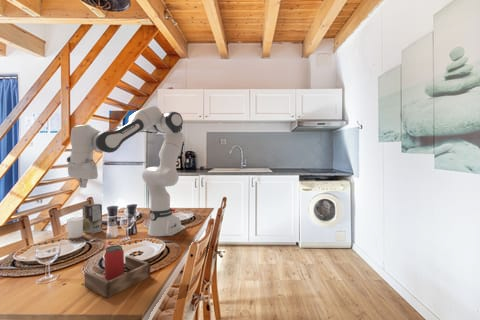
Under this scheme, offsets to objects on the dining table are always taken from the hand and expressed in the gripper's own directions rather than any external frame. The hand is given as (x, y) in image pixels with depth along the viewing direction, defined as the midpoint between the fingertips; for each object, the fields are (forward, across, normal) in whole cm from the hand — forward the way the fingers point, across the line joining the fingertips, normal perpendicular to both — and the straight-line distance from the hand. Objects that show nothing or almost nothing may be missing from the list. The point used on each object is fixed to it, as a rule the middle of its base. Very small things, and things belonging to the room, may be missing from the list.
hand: (83, 187), depth 123 cm
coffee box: (+31, +26, -18) cm, 44 cm away
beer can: (+31, -38, +8) cm, 49 cm away
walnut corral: (+31, -40, +8) cm, 51 cm away
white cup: (+31, +25, -8) cm, 41 cm away
